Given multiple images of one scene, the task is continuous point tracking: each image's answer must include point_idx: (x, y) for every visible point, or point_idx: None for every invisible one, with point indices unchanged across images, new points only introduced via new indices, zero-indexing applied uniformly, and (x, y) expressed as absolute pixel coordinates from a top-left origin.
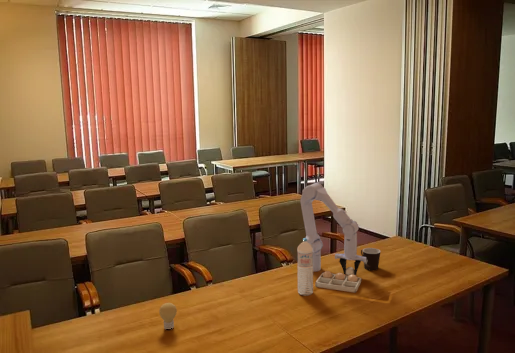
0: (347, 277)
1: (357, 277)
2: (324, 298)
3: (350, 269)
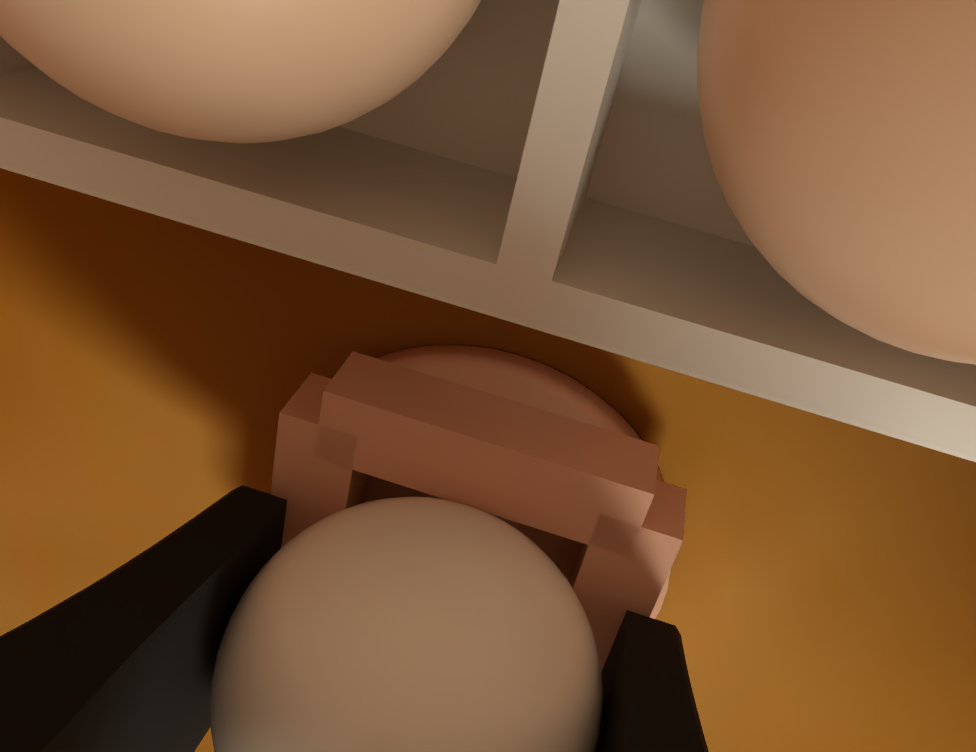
0: (537, 109)
1: (47, 150)
2: None
3: (338, 720)
